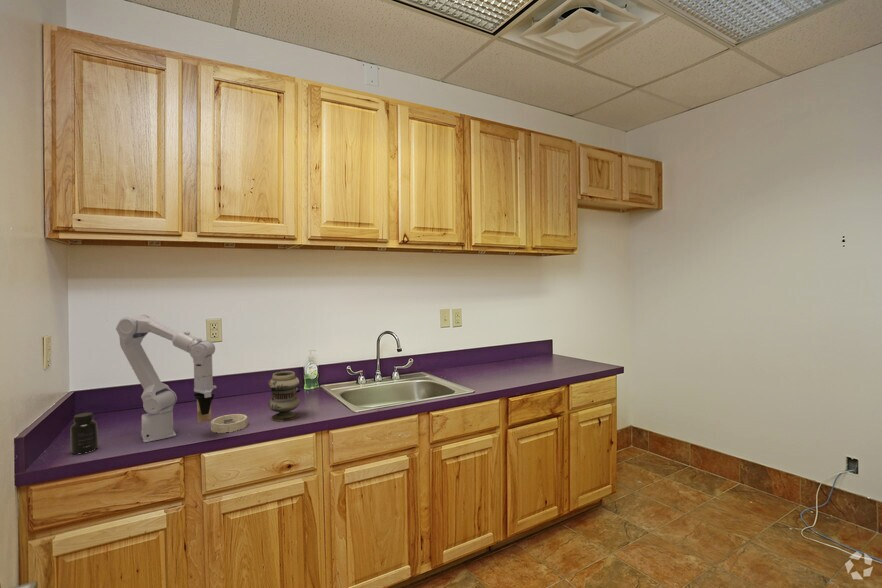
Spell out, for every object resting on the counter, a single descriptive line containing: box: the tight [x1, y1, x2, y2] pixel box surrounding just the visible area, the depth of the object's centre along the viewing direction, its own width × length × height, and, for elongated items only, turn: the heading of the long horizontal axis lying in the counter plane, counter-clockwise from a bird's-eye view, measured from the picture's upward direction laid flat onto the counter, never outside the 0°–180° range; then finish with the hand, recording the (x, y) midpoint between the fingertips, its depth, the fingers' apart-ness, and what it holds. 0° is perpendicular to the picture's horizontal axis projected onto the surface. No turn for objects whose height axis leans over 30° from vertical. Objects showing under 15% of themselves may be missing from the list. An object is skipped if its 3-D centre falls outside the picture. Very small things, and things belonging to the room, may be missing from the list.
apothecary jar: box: [267, 370, 301, 422], centre depth 171 cm, size 12×12×18 cm
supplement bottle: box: [69, 412, 99, 455], centre depth 139 cm, size 7×7×12 cm
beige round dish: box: [210, 413, 249, 434], centre depth 161 cm, size 12×12×3 cm
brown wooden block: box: [196, 400, 212, 424], centre depth 151 cm, size 4×2×8 cm, turn 128°
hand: (204, 413), depth 151 cm, fingers closed on brown wooden block, 2 cm apart
